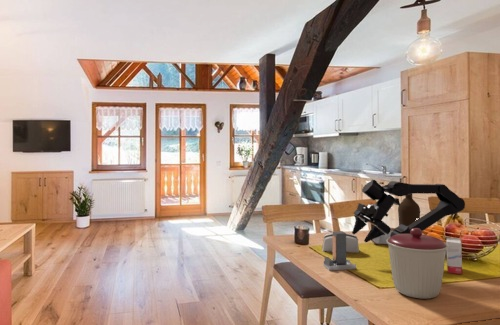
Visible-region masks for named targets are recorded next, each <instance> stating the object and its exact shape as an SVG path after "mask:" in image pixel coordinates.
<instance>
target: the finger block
mask: <svg viewBox="0 0 500 325" xmlns="http://www.w3.org/2000/svg"><path fill="white" fill-rule="evenodd" d="M332 233H333V235H332V238H333V252H332V260H333V264H334V265H346V260H347V252H346V233H347V232H345V231H342V230H339V231H337V230H335V231H332Z"/></svg>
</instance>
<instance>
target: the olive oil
mask: <svg viewBox="0 0 500 325" xmlns="http://www.w3.org/2000/svg"><path fill="white" fill-rule="evenodd" d="M404 197H405V198H404V199H403V200H402V201H401V202H400V205H398V207H397V214H398V226H399V225H400V224H403V225H405V226H408V225H410V224H412V223H413V222H415V220H416V218H421V217H420V216H421V209H420V206H419V204H418V203H417V201H415V200H414V198H413V194H409V195H406V196H404Z"/></svg>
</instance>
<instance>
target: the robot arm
mask: <svg viewBox="0 0 500 325" xmlns="http://www.w3.org/2000/svg"><path fill="white" fill-rule="evenodd" d="M361 191H362V193H363V194H364V195H365V196H367V197H368V198H370V199H371V200H372V201H376V202H375V203H374V204H373V203H372V204H368V205H367V204H364V203H361V202H358V204H357V207H356V209H355V211H354V212H353V214H354V215H353V217H354V218H355V222H354V226H353V229H352V231H351V233H352V235H356V234H358V232H360V230H362V229H363V228H365V227H366V226H367V224H368V223H369V224H370V223H371V224H370V228H371V229H370V230H369V231H368V234H367V235H366V237H365V238H364V240H363V242H365V243H369V242H370V241H371V240H372V239H374V238H377V237H379V236H382V235H385V234H384V233H386V234H387V235H388V234H389V233H390V231H391V228H392V227H390V226H389V225H388V224H387V223H386V222H384V221H383V219H384V217H386V218H388V216H389V214H388V212H389V211H390V210H391V209H392V207H393V206H394V205H397V206H399V205H400V203H401V202H400V199H399V198H397V197H405V196H406V195H409V194H412V195H413V194H421V195H422V194H428V195H429V194H435V195H436V197H437V198H438V200H439V202H438V204H437V206H436V207H435V208H433V209H431V211H429V212H427V213H425V214H424V215H423V216H421V217H420V218H419V219H418V220H416V221H415V222H413V223H412V224H410V225H408V226H405V225H403V224H400V225H399V224H398V226H397V227H393V228H394V230H393V231H392V232H391V236H393V235H397V234H410V230H411V229H412V228H419V229H421V230H422V232H424V231H425V230H427V229H428V228H430V227H431V226H433V225H434V224H435V223H437V222H439V221H440V220H442V219H443V218H445V217H447V216H450V215H455V214H457V213H458V214H459V213H460V212H462V211H463V210H465V208H466V202H465V200H464V199H463V198H462V197H460V196H459V195H457V194H456V193H455V192H454V191H452V190H451V189H450V188H449V187H448V186H447V185H445V184H442V183H432V184H430V183H426V184H425V183H424V184H423V183H406V182H400V181H395V180H394V181H393V180H391V181H389V182H388V183H387V184H385V185H381V184H379V183H378V181H377V180H376V179H371V180H370V181H369V182H367V183H366V184H364V186H363V188H362V189H361ZM394 196H396V198H395V197H394Z"/></svg>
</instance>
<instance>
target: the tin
mask: <svg viewBox="0 0 500 325" xmlns="http://www.w3.org/2000/svg"><path fill="white" fill-rule="evenodd" d="M390 228H391V231H390V233H389V234H388V235H387V234H386V233H384V234H385V235H382V236H379V237H377V238H374V239H372V240H370V241H371V242H372V243H373V244H375V245H378V246H379V245H382V246H383V245H384V246H389V245H388V243H387V242H386V240H387V239H388V238H390V237H391V232H392V231H393V230H394V228H395V227H390Z"/></svg>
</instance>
